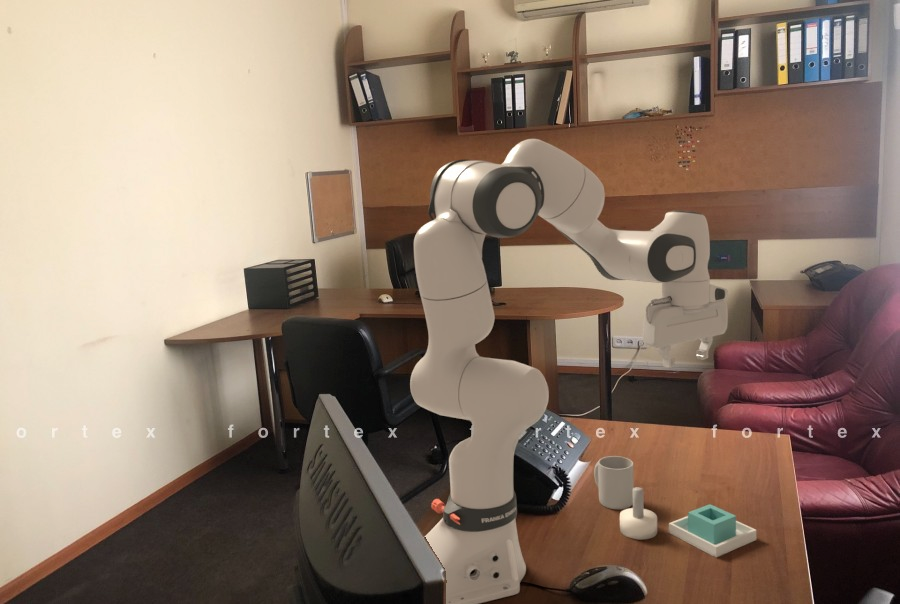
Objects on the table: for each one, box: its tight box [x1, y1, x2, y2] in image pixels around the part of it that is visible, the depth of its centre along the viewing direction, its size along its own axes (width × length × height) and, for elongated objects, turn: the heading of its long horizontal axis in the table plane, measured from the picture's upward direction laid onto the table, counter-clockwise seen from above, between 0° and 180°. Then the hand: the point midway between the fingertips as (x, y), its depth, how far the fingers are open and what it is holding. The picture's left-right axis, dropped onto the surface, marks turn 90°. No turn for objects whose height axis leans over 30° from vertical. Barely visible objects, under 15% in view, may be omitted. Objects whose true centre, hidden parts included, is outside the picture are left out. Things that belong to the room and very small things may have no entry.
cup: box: [593, 455, 635, 510], centre depth 147 cm, size 7×10×9 cm
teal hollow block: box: [687, 503, 737, 545], centre depth 131 cm, size 6×8×4 cm
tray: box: [668, 515, 758, 558], centre depth 131 cm, size 11×11×2 cm
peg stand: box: [619, 487, 658, 541], centre depth 134 cm, size 7×7×8 cm
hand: (685, 362), depth 137 cm, fingers open, 8 cm apart
